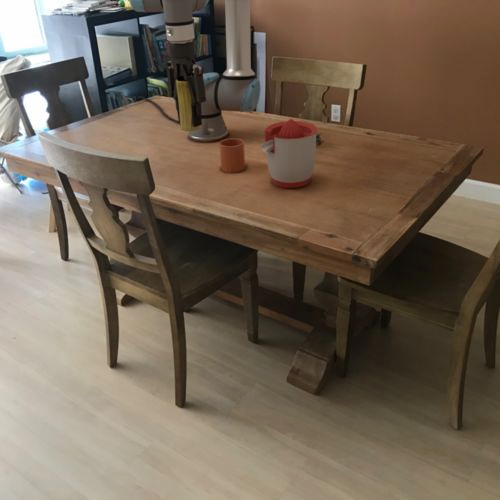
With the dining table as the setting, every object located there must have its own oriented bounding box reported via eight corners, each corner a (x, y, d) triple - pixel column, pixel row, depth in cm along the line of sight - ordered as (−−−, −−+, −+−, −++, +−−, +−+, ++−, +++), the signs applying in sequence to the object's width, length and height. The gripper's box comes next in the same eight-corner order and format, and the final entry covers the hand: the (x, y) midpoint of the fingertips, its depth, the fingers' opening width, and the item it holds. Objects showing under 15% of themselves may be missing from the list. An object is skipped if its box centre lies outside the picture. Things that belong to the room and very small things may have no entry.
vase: (177, 131, 151) (171, 81, 144) (183, 124, 157) (178, 76, 149) (197, 131, 150) (192, 81, 143) (203, 124, 155) (198, 76, 148)
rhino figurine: (318, 150, 184) (319, 134, 181) (293, 140, 193) (293, 125, 190) (327, 147, 186) (327, 131, 183) (301, 138, 195) (301, 122, 192)
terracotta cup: (216, 169, 173) (214, 143, 169) (232, 161, 178) (231, 136, 174) (234, 174, 169) (232, 148, 164) (250, 166, 174) (248, 141, 169)
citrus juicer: (253, 178, 166) (250, 117, 155) (301, 167, 171) (301, 108, 161) (274, 197, 153) (273, 132, 143) (325, 185, 159) (327, 121, 148)
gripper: (148, 40, 144) (160, 121, 156) (194, 46, 133) (203, 133, 145) (169, 35, 148) (178, 114, 161) (215, 41, 137) (221, 126, 150)
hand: (190, 123), depth 153 cm, fingers closed on vase, 6 cm apart
